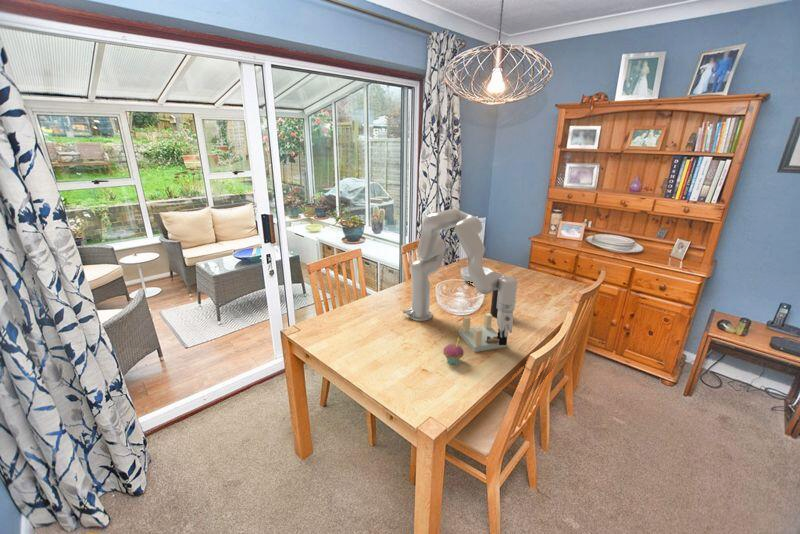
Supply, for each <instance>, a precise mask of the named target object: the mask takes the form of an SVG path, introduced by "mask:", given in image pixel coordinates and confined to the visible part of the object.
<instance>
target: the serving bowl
mask: <svg viewBox="0 0 800 534" xmlns="http://www.w3.org/2000/svg"><path fill="white" fill-rule="evenodd" d="M482 267H483V270H484V273H485V275H487V274H489V273H490V272H494V271H493V270H492V269H491V268H488V267H484V266H482ZM460 274H461V277H462V278H463V280H465V281H466V282H468V281H470V282H469V283H471V282H472V280H471V279H470V276H469V272H468V266H464V267H462V268H461V270H460Z"/></svg>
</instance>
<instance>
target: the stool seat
mask: <svg viewBox="0 0 800 534" xmlns="http://www.w3.org/2000/svg"><path fill="white" fill-rule="evenodd" d="M483 319H484V321H483V325H480V326H473V327H470V325H471V317H470V316H469V315H465V316H463V317H462V324H461V325H462V327H461V328H459V330H458V331H459V332H458V335H459V337H461V338H462V339H463V340H464V341H465V343H466V344H467V345H468V346H469V348H470V349H471V350H472V352H474V353H476V352H477V353H478V352H483V351H490V350H494V349H495V350H496V349H501V348H506V347H507V345H499V343H493V342H487V336H490V338H496V339H497V336H498V331H496V329H494V328H493V327H492V321H493V316H492V315H491V314H490V312H488V313H484V318H483Z"/></svg>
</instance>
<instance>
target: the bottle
mask: <svg viewBox="0 0 800 534" xmlns="http://www.w3.org/2000/svg"><path fill="white" fill-rule="evenodd" d="M497 297H498V290H494V291H492V292H491V303H490V311H489V313H490V314H491V315H492V318H497V314H498V309H497V308H496V307H497Z"/></svg>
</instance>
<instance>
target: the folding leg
mask: <svg viewBox="0 0 800 534" xmlns="http://www.w3.org/2000/svg"><path fill="white" fill-rule="evenodd" d="M503 334H504V333H503ZM500 336H501V332H500ZM487 342H493V343H499V339H496V338H490V336H487Z"/></svg>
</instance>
